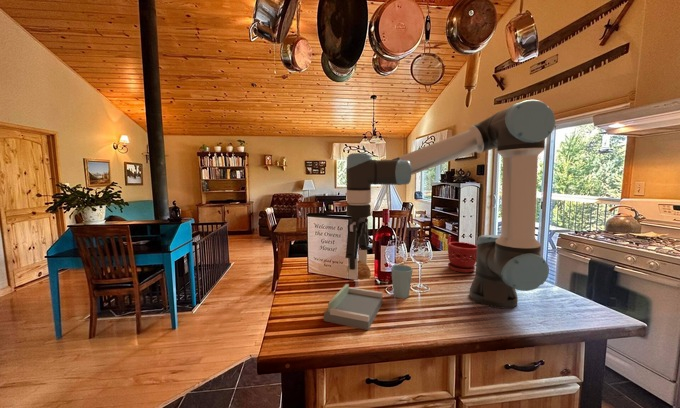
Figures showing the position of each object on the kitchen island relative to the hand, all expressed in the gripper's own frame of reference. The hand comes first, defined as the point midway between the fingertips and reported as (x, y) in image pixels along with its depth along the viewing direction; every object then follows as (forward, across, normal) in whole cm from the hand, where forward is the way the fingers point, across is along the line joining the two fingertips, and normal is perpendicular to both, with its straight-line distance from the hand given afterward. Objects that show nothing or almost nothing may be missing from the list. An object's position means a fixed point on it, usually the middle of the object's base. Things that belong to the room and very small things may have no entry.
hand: (358, 273), depth 89 cm
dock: (+13, 0, -1) cm, 13 cm away
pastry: (+1, 0, +1) cm, 1 cm away
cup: (+13, -18, +11) cm, 25 cm away
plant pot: (+13, -57, +33) cm, 67 cm away
